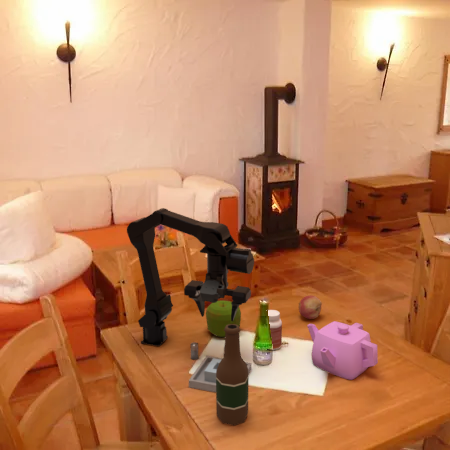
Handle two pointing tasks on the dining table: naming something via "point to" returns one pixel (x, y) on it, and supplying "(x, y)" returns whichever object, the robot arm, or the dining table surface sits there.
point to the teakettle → (342, 349)
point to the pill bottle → (275, 328)
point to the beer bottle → (232, 381)
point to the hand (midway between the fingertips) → (217, 318)
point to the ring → (211, 370)
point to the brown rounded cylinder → (194, 350)
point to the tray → (199, 380)
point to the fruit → (310, 307)
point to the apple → (221, 317)
